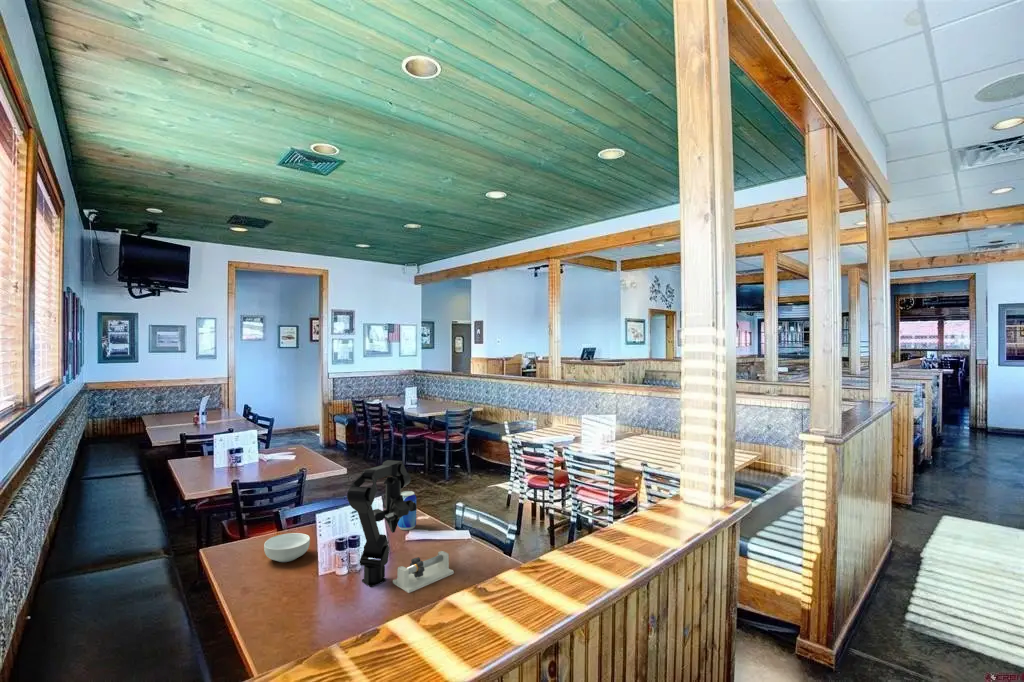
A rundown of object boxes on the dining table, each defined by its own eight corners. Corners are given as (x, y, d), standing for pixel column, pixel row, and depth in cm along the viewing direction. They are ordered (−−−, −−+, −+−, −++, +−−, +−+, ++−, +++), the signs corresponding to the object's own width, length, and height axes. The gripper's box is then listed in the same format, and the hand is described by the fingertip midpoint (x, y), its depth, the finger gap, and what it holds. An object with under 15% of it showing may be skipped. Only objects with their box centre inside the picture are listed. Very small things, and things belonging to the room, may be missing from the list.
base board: (408, 593, 171) (408, 574, 171) (392, 583, 178) (392, 565, 178) (453, 573, 185) (453, 556, 185) (437, 565, 192) (437, 548, 192)
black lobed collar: (420, 580, 176) (421, 561, 176) (409, 574, 181) (410, 555, 181) (424, 579, 177) (424, 560, 177) (413, 572, 182) (413, 554, 182)
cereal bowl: (298, 567, 189) (298, 549, 189) (255, 567, 189) (255, 548, 189) (316, 549, 206) (316, 532, 206) (277, 548, 206) (277, 531, 206)
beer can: (405, 532, 225) (406, 497, 225) (394, 528, 230) (394, 493, 230) (419, 526, 231) (420, 492, 231) (407, 522, 236) (408, 489, 236)
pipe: (405, 577, 174) (405, 570, 174) (400, 575, 176) (400, 568, 176) (445, 561, 187) (445, 554, 187) (441, 559, 189) (441, 552, 189)
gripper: (383, 502, 181) (383, 545, 181) (425, 491, 195) (424, 531, 195) (367, 496, 189) (367, 536, 189) (408, 486, 203) (408, 524, 203)
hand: (393, 532), depth 194 cm, fingers closed
